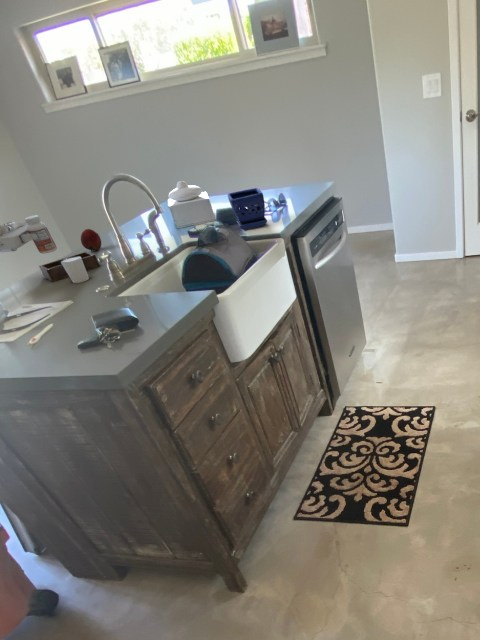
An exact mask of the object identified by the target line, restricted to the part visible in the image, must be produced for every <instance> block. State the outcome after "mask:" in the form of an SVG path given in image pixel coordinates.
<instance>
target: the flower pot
mask: <svg viewBox="0 0 480 640" xmlns="http://www.w3.org/2000/svg"><path fill="white" fill-rule="evenodd" d="M227 199H228V201H229V205H230V206H231V210H232V211H233V213H234V215H235V217H236V218H237V219H239V221H240V222H239V221H236V223H237V225H238V227H239V228H240V229H241V230H243V231H247V230H251V229H255V228H260V227H264V226H266V225H267V223H268V219H267V218H266V217H265V214H266V206H265V205H266V204H265V198H264V193H263V191H262V190H261V189H260V188H259V187H254V188H248V189H243V190H239V191H235V192H229V193H227Z"/></svg>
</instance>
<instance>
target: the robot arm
mask: <svg viewBox="0 0 480 640" xmlns="http://www.w3.org/2000/svg"><path fill="white" fill-rule="evenodd" d="M27 226H28V224H27V223H26V222H15V221H9V222H6V223H0V254H5V253H11V252H16V251H18V249H19V248H21V247H23V246H24V245H26V244H28V243H29V242H30V241H31V242H32V241H33V240H35V239H38V238H39V236H38V234H37V233H31V234H29V232H28V230H27Z"/></svg>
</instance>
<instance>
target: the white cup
mask: <svg viewBox="0 0 480 640" xmlns="http://www.w3.org/2000/svg"><path fill="white" fill-rule="evenodd" d="M61 264H62V265H63V267H64V268H65V270H66V272H67V273H68V275H69V279H70V280H71V281H72V282H73V284H79V283H83V282H86V281H88V280H89V279H90V277H89V275H88V272H87V271H88V270H87V271H86V269H85V266H84V264H83V261H82V259H81V257H71V258H68V259H65V260H63V261H61Z"/></svg>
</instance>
